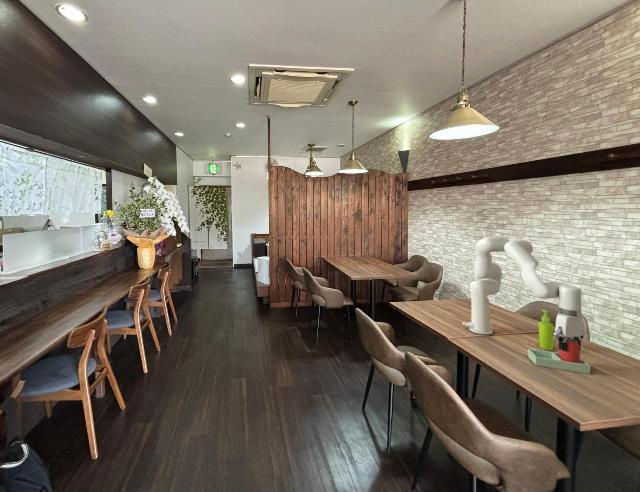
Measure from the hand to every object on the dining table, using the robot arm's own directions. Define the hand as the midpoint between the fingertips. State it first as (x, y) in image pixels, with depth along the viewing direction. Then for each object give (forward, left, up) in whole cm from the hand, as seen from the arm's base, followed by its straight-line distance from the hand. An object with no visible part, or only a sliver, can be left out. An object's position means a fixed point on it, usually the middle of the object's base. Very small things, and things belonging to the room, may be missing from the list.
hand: (569, 349), depth 136 cm
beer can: (0, 0, -7) cm, 7 cm away
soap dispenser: (-2, +21, -8) cm, 23 cm away
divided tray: (-5, 0, -8) cm, 9 cm away
